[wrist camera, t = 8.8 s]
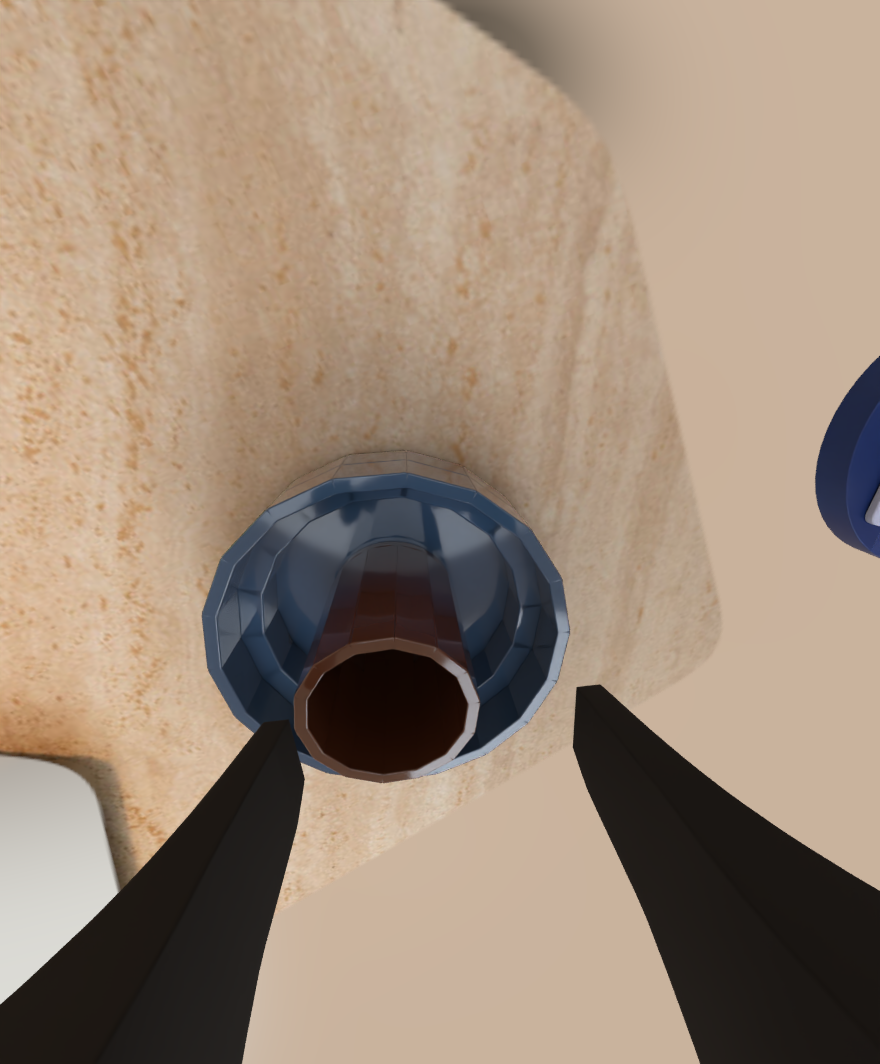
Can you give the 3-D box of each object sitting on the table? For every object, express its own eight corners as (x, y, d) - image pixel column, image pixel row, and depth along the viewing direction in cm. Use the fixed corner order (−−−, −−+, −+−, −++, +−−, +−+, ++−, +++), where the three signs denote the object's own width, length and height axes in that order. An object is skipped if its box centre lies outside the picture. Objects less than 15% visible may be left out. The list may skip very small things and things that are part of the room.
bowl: (559, 461, 18) (607, 489, 14) (508, 704, 22) (532, 781, 18) (239, 431, 16) (182, 453, 12) (256, 698, 21) (218, 780, 17)
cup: (460, 543, 18) (491, 641, 12) (446, 649, 20) (466, 784, 14) (333, 535, 18) (291, 633, 11) (331, 645, 19) (295, 783, 13)
